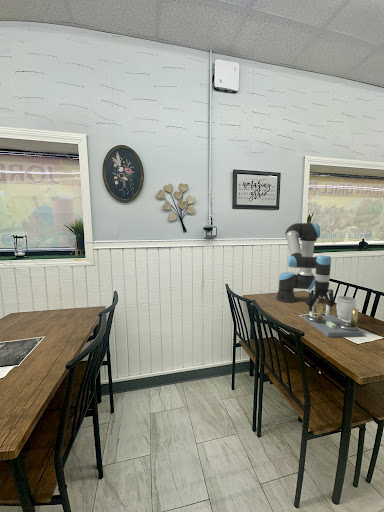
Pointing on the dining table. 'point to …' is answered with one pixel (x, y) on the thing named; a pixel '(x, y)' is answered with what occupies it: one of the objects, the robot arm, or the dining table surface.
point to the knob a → (319, 314)
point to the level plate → (334, 330)
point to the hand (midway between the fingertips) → (319, 315)
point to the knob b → (353, 324)
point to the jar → (345, 308)
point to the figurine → (317, 303)
